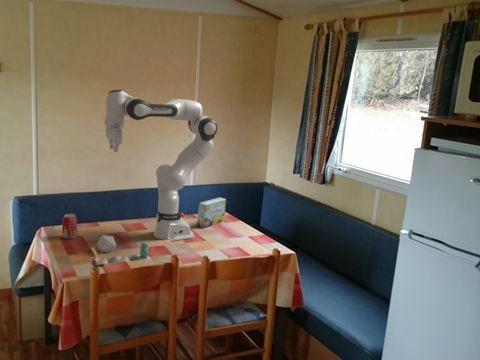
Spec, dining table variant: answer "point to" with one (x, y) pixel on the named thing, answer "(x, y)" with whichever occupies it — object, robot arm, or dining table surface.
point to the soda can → (69, 226)
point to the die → (106, 244)
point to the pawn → (144, 250)
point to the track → (101, 261)
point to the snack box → (211, 212)
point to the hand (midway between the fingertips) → (113, 150)
